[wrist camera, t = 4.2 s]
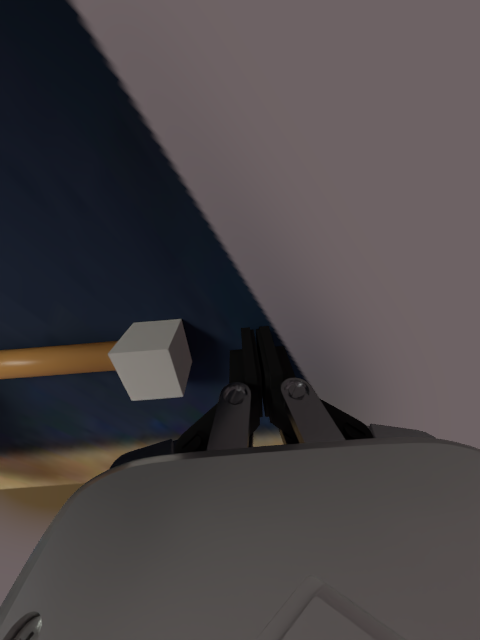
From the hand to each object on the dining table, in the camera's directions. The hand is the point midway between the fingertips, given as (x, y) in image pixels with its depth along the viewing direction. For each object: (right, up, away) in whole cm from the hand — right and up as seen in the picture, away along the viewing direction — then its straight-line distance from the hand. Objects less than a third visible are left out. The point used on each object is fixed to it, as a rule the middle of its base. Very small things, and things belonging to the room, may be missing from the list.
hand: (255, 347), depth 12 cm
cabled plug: (-16, -1, +1) cm, 16 cm away
